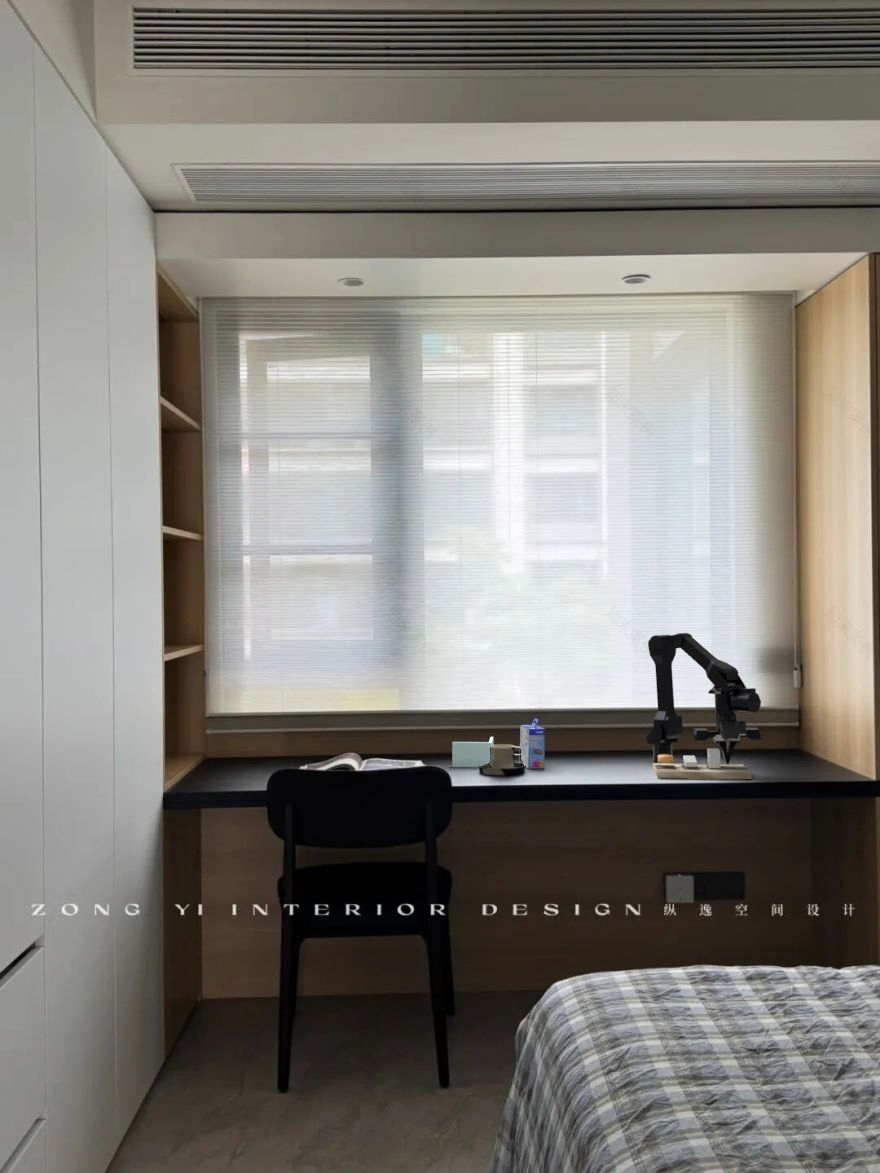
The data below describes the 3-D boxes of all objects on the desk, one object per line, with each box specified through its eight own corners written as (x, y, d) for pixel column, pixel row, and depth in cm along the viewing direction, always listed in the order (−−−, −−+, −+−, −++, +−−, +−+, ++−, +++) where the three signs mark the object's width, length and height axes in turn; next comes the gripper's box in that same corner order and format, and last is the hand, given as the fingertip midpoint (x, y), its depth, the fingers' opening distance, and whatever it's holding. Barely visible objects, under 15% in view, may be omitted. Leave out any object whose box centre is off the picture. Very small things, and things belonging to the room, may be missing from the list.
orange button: (657, 760, 286) (657, 754, 286) (672, 760, 285) (672, 754, 285) (658, 763, 282) (658, 756, 282) (674, 763, 281) (674, 757, 281)
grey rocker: (683, 760, 286) (683, 755, 285) (694, 760, 285) (694, 755, 285) (685, 766, 280) (685, 762, 280) (697, 766, 280) (697, 762, 279)
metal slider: (707, 765, 284) (707, 748, 284) (718, 765, 284) (718, 748, 284) (709, 768, 280) (709, 750, 280) (720, 768, 280) (720, 750, 280)
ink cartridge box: (545, 768, 294) (545, 720, 294) (528, 769, 293) (527, 721, 293) (536, 763, 304) (535, 716, 304) (519, 764, 303) (518, 717, 303)
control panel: (652, 769, 291) (652, 762, 291) (742, 770, 288) (742, 763, 288) (657, 778, 277) (657, 770, 277) (751, 780, 274) (751, 772, 274)
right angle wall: (493, 760, 309) (493, 736, 309) (491, 767, 297) (491, 742, 297) (456, 760, 310) (455, 736, 311) (452, 766, 299) (452, 742, 299)
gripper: (696, 714, 275) (698, 769, 275) (764, 712, 272) (766, 768, 272) (691, 709, 286) (692, 762, 286) (756, 708, 283) (758, 761, 283)
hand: (727, 763), depth 281 cm, fingers closed
